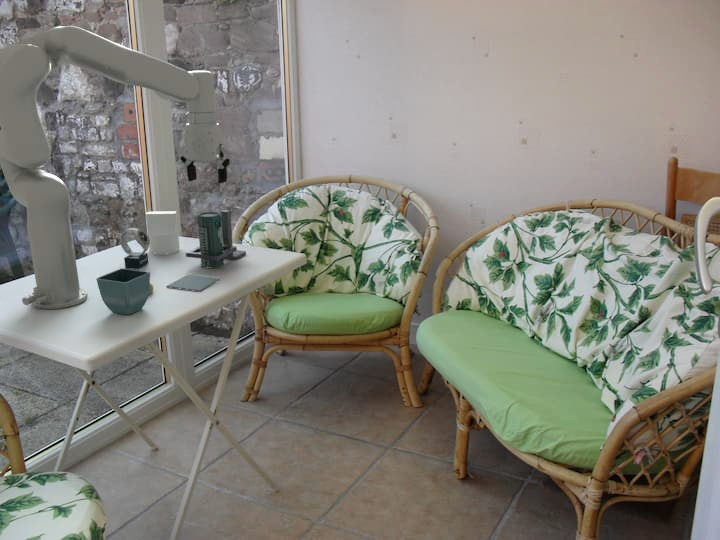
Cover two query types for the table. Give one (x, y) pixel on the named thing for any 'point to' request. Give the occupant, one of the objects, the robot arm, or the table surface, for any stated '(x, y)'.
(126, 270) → the flower pot
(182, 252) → the table surface
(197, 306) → the table surface
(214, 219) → the can
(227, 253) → the ring stand
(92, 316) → the table surface
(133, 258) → the watch
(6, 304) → the table surface
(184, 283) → the coaster
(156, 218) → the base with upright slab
